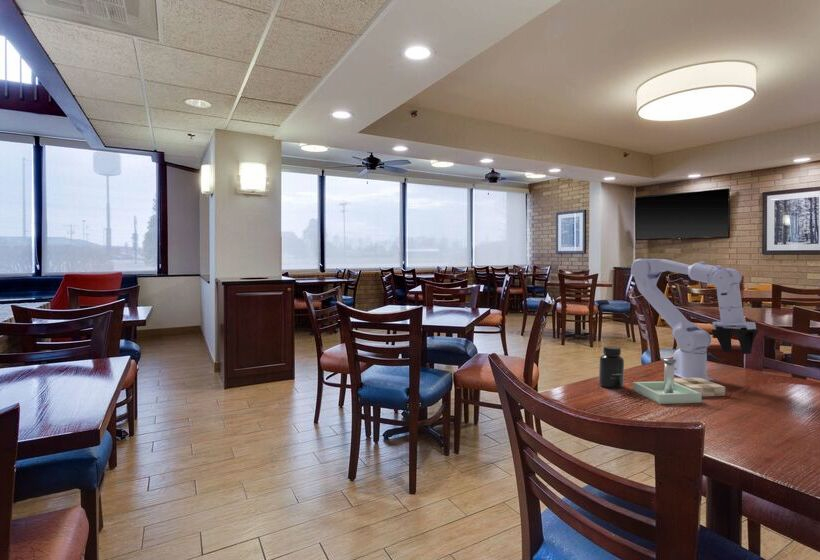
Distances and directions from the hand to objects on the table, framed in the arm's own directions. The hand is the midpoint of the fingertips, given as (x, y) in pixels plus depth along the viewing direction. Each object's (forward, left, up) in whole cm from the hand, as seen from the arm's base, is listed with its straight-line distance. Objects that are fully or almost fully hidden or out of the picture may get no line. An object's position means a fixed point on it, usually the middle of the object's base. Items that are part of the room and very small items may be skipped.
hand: (736, 352), depth 130 cm
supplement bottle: (-5, -36, -11) cm, 38 cm away
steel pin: (+5, -25, -10) cm, 27 cm away
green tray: (+6, -26, -11) cm, 29 cm away
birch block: (+2, -14, -11) cm, 18 cm away
